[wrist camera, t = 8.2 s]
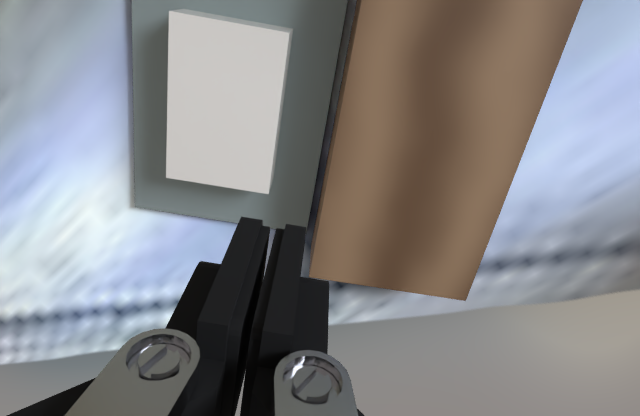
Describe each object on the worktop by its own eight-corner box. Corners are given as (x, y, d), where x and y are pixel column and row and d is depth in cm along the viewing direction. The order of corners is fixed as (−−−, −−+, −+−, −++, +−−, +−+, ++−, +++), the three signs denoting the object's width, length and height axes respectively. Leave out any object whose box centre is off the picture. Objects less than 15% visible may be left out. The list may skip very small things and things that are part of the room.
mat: (352, -30, 24) (353, -30, 23) (306, 230, 31) (306, 233, 30) (134, -72, 23) (130, -73, 23) (137, 203, 30) (134, 207, 30)
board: (549, -14, 24) (588, -14, 20) (450, 265, 32) (465, 300, 28) (365, -49, 23) (372, -56, 20) (311, 243, 31) (308, 276, 28)
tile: (168, 10, 22) (183, 8, 24) (165, 177, 26) (178, 162, 28) (289, 32, 22) (293, 28, 25) (268, 194, 26) (273, 178, 29)
